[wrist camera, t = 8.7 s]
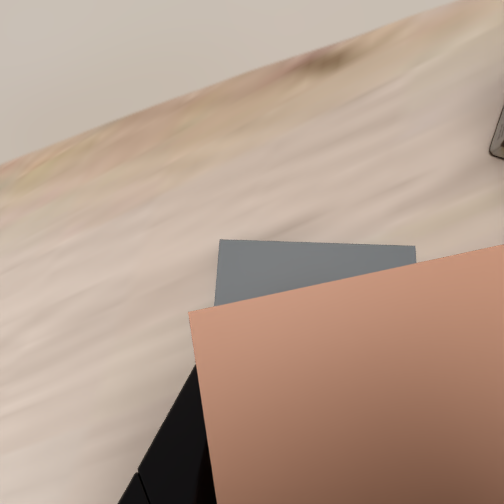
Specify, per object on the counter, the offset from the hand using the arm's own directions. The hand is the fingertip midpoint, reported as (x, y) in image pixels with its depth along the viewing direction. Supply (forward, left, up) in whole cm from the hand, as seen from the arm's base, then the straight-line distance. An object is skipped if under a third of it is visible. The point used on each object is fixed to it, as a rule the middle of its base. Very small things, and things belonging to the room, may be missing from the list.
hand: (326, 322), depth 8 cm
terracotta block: (-2, 0, -7) cm, 7 cm away
